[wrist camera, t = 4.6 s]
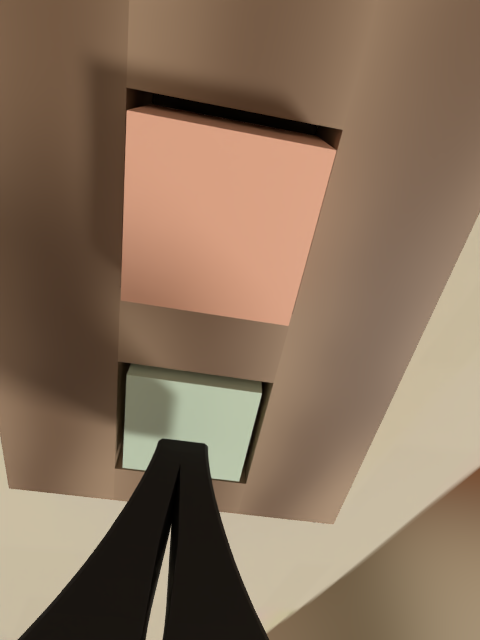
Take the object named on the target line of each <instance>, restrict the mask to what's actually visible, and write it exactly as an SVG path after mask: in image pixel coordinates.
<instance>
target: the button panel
mask: <svg viewBox="0 0 480 640" xmlns="http://www.w3.org/2000/svg"><path fill="white" fill-rule="evenodd" d="M153 93H157V94H162V95H167V96H172V97H177V98H182V99H187V100H193V101H198V102H203V103H208V104H213V105H218V106H223V107H228V108H233V109H239V110H244V111H249V112H254V113H259V114H264V115H269V116H274V117H279V118H285V119H290V120H295V121H300V122H305V123H310V124H315V125H318V128H317V132H316V136H318V137H319V138H320V139H322V140H323V141H325V142H326V143H327V144H329V145H330V146H331V147H333V148H334V149H336V150H337V151H336V155H335V158H334V162H333V166H332V169H331V173H330V177H329V180H328V184H327V188H326V191H325V195H324V199H323V202H322V206H321V210H320V213H319V217H318V221H317V224H316V228H315V231H314V235H313V239H312V242H311V246H310V250H309V253H308V257H307V261H306V264H305V268H304V272H303V275H302V279H301V283H300V286H299V290H298V294H297V297H296V301H295V305H294V308H293V312H292V316H291V319H290V323H289V326H285V325H278V324H272V323H265V322H259V321H252V320H246V319H239V318H232V317H226V316H219V315H213V314H206V313H199V312H193V311H186V310H180V309H173V308H166V307H160V306H153V305H147V304H140V303H133V302H127V301H121V272H122V241H123V210H124V178H125V147H126V116H127V110H129V109H133V108H137V107H141V106H145V105H149V104H152V100H153ZM479 213H480V0H0V436H1V443H2V449H3V455H4V461H5V467H6V473H7V479H8V485H9V488H11V489H20V490H29V491H38V492H47V493H56V494H65V495H74V496H83V497H92V498H101V499H110V500H119V501H129V499H130V497H131V496H132V494H133V492H134V490H135V489H136V487H137V485H138V484H139V482H140V480H141V478H142V476H143V475H144V473H145V470H137V469H128V468H122V467H123V445H124V423H125V400H126V378H127V373H128V370H129V367H130V365H131V363H132V364H140V365H147V366H154V367H161V368H168V369H175V370H183V371H190V372H197V373H204V374H211V375H219V376H226V377H233V378H240V379H247V380H254V381H261V385H262V395H261V399H260V403H259V407H258V411H257V415H256V419H255V422H254V426H253V430H252V434H251V438H250V442H249V445H248V449H247V453H246V457H245V461H244V465H243V469H242V472H241V476H240V480H239V481H230V480H222V479H213V478H212V484H213V489H214V493H215V497H216V501H217V505H218V509H219V512H228V513H237V514H246V515H255V516H264V517H273V518H282V519H291V520H300V521H309V522H318V523H327V524H334V522H335V520H336V518H337V515H338V513H339V511H340V509H341V507H342V505H343V503H344V501H345V498H346V496H347V494H348V492H349V490H350V488H351V486H352V483H353V481H354V479H355V477H356V475H357V473H358V471H359V469H360V466H361V464H362V462H363V460H364V458H365V456H366V454H367V451H368V449H369V447H370V445H371V443H372V441H373V439H374V437H375V434H376V432H377V430H378V428H379V426H380V424H381V422H382V419H383V417H384V415H385V413H386V411H387V409H388V407H389V405H390V402H391V400H392V398H393V396H394V394H395V392H396V390H397V388H398V385H399V383H400V381H401V379H402V377H403V375H404V373H405V370H406V368H407V366H408V364H409V362H410V360H411V358H412V356H413V353H414V351H415V349H416V347H417V345H418V343H419V341H420V338H421V336H422V334H423V332H424V330H425V328H426V326H427V324H428V321H429V319H430V317H431V315H432V313H433V311H434V309H435V306H436V304H437V302H438V300H439V298H440V296H441V294H442V292H443V289H444V287H445V285H446V283H447V281H448V279H449V277H450V275H451V272H452V270H453V268H454V266H455V264H456V262H457V260H458V257H459V255H460V253H461V251H462V249H463V247H464V245H465V243H466V240H467V238H468V236H469V234H470V232H471V230H472V228H473V225H474V223H475V221H476V219H477V217H478V215H479Z"/></svg>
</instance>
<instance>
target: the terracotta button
mask: <svg viewBox="0 0 480 640" xmlns="http://www.w3.org/2000/svg"><path fill="white" fill-rule="evenodd" d="M336 151H337V150H336V149H334V148H333V147H331V146H330V145H329V144H327V143H326V142H325V141H323V140H322V139H320V138H319V137H318V136H315V135H310V134H305V133H299V132H294V131H289V130H284V129H279V128H274V127H268V126H263V125H258V124H253V123H248V122H243V121H237V120H232V119H227V118H222V117H217V116H211V115H206V114H201V113H196V112H191V111H186V110H180V109H175V108H170V107H165V106H160V105H155V104H149V105H145V106H141V107H137V108H133V109H129V110H127V116H126V147H125V178H124V210H123V241H122V272H121V301H127V302H133V303H140V304H147V305H153V306H160V307H166V308H173V309H180V310H186V311H193V312H199V313H206V314H213V315H219V316H226V317H232V318H239V319H246V320H252V321H259V322H265V323H272V324H278V325H285V326H289V323H290V319H291V316H292V312H293V308H294V305H295V301H296V297H297V294H298V290H299V286H300V283H301V279H302V275H303V272H304V268H305V264H306V261H307V257H308V253H309V250H310V246H311V242H312V239H313V235H314V231H315V228H316V224H317V221H318V217H319V213H320V210H321V206H322V202H323V199H324V195H325V191H326V188H327V184H328V180H329V177H330V173H331V169H332V166H333V162H334V158H335V155H336Z"/></svg>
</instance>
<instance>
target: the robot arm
mask: <svg viewBox="0 0 480 640" xmlns="http://www.w3.org/2000/svg"><path fill="white" fill-rule="evenodd" d="M171 524H172V525H171ZM170 528H171V541H170V556H169V573H168V589H167V605H166V616H165V627H164V634H163V640H269V638H268V637H267V634H266V632H265V630H264V628H263V626H262V624H261V622H260V620H259V618H258V615H257V613H256V611H255V609H254V607H253V605H252V602H251V600H250V598H249V595H248V593H247V591H246V588H245V586H244V584H243V581H242V579H241V576H240V573H239V571H238V568H237V566H236V563H235V560H234V558H233V555H232V552H231V549H230V546H229V543H228V540H227V537H226V534H225V530H224V527H223V524H222V520H221V517H220V513H219V509H218V505H217V501H216V497H215V493H214V489H213V484H212V478H211V473H210V466H209V457H208V446H207V445H206V444H205V443H198V442H189V441H181V440H173V439H165V438H162V439H161V440H159V441H158V444H157V447H156V449H155V452H154V454H153V456H152V459H151V461H150V463H149V465H148V467H147V469H146V471H145V473H144V475H143V476H142V478H141V480H140V482H139V484H138V485H137V487H136V489H135V490H134V492H133V494H132V496H131V497H130V499H129V501H128V502H127V504H126V505H125V507H124V509H123V510H122V511H121V513H120V514H119V516H118V517H117V519H116V520H115V522H114V523H113V525H112V526H111V528H110V529H109V531H108V532H107V534H106V535H105V537H104V538H103V539H102V541H101V542H100V544H99V545H98V546H97V548H96V549H95V550H94V552H93V553H92V554H91V555H90V557H89V558H88V559H87V561H86V562H85V563H84V565H83V566H82V567H81V568H80V570H79V571H78V572H77V573H76V574H75V576H74V577H73V578H72V579H71V581H70V582H69V583H68V584H67V585H66V587H65V588H64V589H63V590H62V591H61V593H60V594H59V595H58V596H57V597H56V598H55V600H54V601H53V602H52V603H51V604H50V605H49V606H48V608H47V609H46V610H45V611H44V612H43V613H42V614H41V615H40V616H39V617H38V618H37V620H36V621H35V622H34V623H33V624H32V625H31V626H30V627H29V628H28V629H27V630H26V631H25V633H24V634H23V635H22V636H21V637H20V638H19V639H18V640H146V633H147V627H148V622H149V617H150V612H151V608H152V603H153V599H154V595H155V591H156V587H157V582H158V578H159V574H160V570H161V566H162V562H163V557H164V553H165V549H166V545H167V541H168V536H169V532H170Z"/></svg>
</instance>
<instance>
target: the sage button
mask: <svg viewBox="0 0 480 640" xmlns="http://www.w3.org/2000/svg"><path fill="white" fill-rule="evenodd" d="M261 395H262V385H261V381H254V380H247V379H240V378H233V377H226V376H219V375H211V374H204V373H197V372H190V371H183V370H175V369H168V368H161V367H154V366H147V365H140V364H132V363H131V365H130V367H129V370H128V373H127V378H126V400H125V423H124V445H123V467H122V468H128V469H137V470H145V471H146V469H147V467H148V465H149V463H150V461H151V459H152V456H153V454H154V452H155V449H156V447H157V444H158V441H159V440H161V439H162V438H165V439H173V440H181V441H189V442H198V443H205V444H206V445H207V446H208V457H209V466H210V473H211V478H213V479H222V480H230V481H239V480H240V476H241V472H242V469H243V465H244V461H245V457H246V453H247V449H248V445H249V442H250V438H251V434H252V430H253V426H254V422H255V419H256V415H257V411H258V407H259V403H260V399H261Z"/></svg>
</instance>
